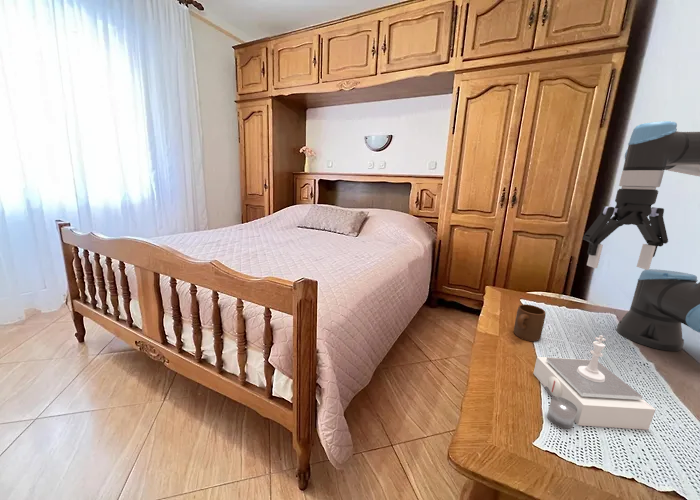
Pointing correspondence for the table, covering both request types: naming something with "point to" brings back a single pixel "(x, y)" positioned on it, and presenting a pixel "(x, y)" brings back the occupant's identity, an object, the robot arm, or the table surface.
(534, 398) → the table surface
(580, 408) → the scale
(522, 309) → the mug
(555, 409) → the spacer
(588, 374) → the chess piece
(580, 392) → the textured square plate
